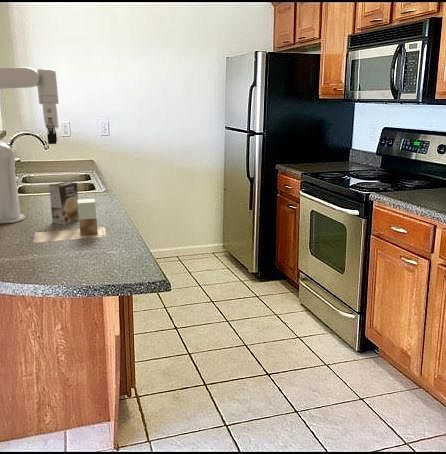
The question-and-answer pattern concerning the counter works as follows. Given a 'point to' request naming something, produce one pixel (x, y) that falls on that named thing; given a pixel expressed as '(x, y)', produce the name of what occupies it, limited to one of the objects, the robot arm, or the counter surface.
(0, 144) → the robot arm
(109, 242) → the counter surface
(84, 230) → the walnut block
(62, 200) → the coffee box
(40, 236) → the board
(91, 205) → the sage block
